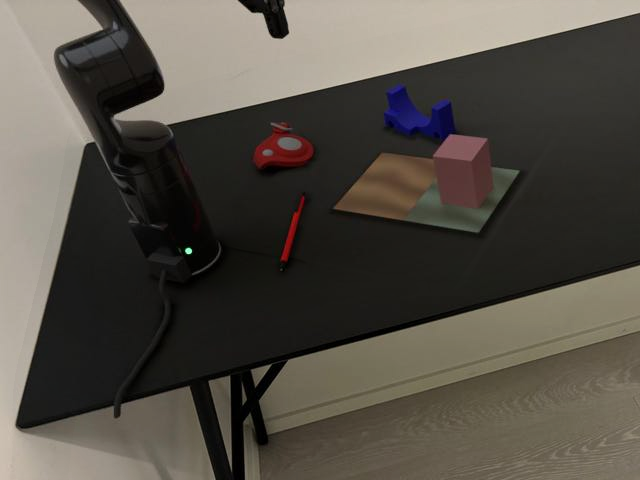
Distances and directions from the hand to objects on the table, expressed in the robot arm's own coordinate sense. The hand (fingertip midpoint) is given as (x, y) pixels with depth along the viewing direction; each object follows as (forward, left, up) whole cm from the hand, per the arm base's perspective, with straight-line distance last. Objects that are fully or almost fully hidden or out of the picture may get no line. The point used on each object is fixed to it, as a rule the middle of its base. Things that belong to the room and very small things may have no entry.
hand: (280, 36), depth 118 cm
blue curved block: (+16, -10, -23) cm, 30 cm away
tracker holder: (+5, +9, -23) cm, 25 cm away
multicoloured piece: (0, -19, -23) cm, 30 cm away
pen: (-14, -4, -23) cm, 27 cm away
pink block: (0, -26, -22) cm, 34 cm away
